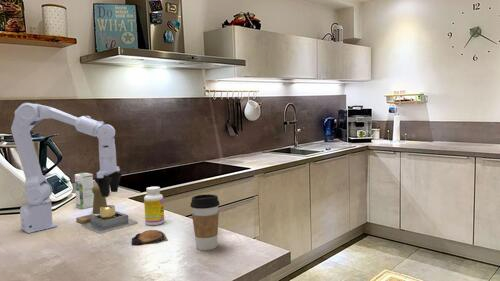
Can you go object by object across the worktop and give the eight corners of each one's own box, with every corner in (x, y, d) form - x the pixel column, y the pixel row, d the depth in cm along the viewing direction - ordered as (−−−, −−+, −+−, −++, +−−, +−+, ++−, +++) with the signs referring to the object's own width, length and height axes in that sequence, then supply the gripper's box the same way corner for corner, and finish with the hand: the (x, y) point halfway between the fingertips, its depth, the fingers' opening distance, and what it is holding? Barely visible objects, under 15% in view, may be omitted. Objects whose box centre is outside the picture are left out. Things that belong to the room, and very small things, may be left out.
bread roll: (164, 235, 120) (164, 224, 120) (168, 243, 112) (168, 231, 112) (130, 240, 116) (130, 228, 116) (132, 249, 109) (131, 236, 108)
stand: (83, 224, 133) (83, 220, 133) (76, 221, 137) (76, 217, 137) (99, 220, 138) (99, 216, 137) (92, 217, 142) (92, 214, 142)
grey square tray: (99, 233, 122) (99, 224, 122) (81, 225, 132) (81, 217, 132) (137, 223, 133) (137, 214, 132) (118, 216, 142) (117, 208, 142)
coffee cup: (196, 254, 101) (194, 200, 100) (189, 244, 109) (186, 194, 108) (225, 248, 105) (223, 196, 103) (216, 239, 112) (214, 191, 111)
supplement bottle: (163, 225, 129) (161, 189, 128) (144, 226, 128) (142, 190, 127) (165, 219, 136) (163, 185, 135) (146, 221, 135) (144, 186, 134)
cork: (103, 209, 154) (102, 183, 153) (111, 211, 150) (109, 184, 149) (89, 212, 150) (88, 185, 149) (96, 214, 146) (94, 187, 145)
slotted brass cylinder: (118, 222, 132) (117, 205, 132) (105, 226, 128) (104, 208, 128) (110, 220, 135) (109, 203, 135) (98, 223, 131) (97, 206, 131)
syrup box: (75, 207, 159) (73, 174, 158) (89, 204, 164) (87, 172, 163) (81, 209, 155) (79, 175, 154) (95, 206, 160) (92, 173, 159)
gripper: (109, 159, 127) (112, 198, 128) (126, 154, 142) (128, 189, 143) (89, 160, 128) (92, 198, 129) (108, 155, 142) (110, 190, 143)
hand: (110, 194), depth 136 cm, fingers open, 7 cm apart
